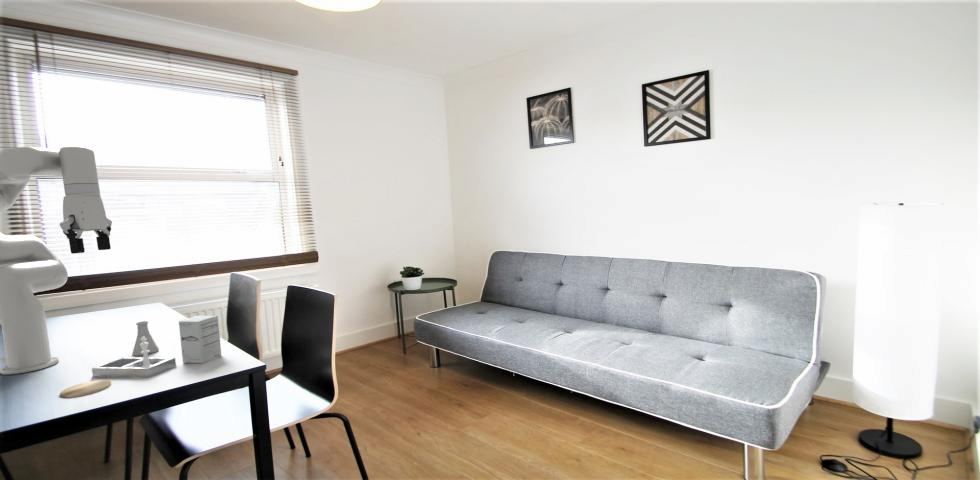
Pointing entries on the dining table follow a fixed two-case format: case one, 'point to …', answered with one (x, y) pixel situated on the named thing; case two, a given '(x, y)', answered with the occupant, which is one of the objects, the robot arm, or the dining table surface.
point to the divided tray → (133, 367)
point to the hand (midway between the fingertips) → (91, 251)
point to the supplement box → (200, 339)
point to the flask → (145, 332)
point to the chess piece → (145, 352)
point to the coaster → (85, 388)
